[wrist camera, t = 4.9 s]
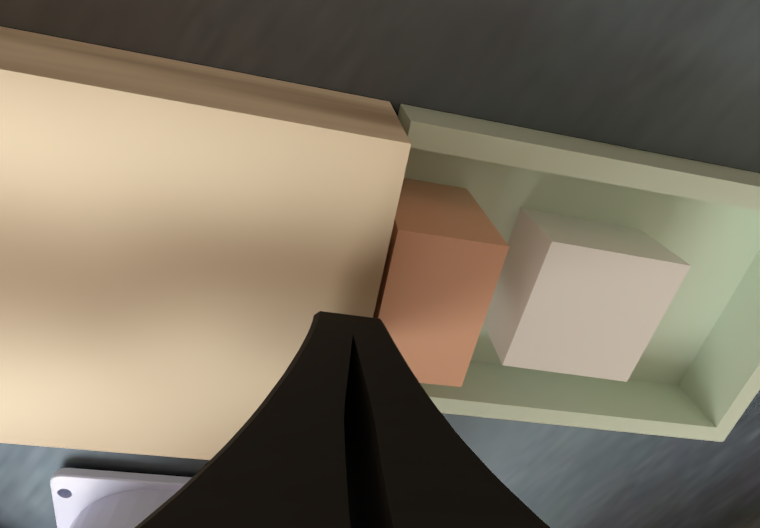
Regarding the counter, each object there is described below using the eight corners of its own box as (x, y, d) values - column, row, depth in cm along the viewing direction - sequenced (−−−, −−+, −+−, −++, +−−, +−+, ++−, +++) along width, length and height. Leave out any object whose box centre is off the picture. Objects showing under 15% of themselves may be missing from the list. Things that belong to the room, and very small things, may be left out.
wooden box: (341, 352, 17) (339, 470, 13) (-104, 299, 15) (-295, 418, 11) (389, 101, 13) (411, 144, 9) (-196, -12, 11) (-549, -32, 7)
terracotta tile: (359, 294, 15) (434, 303, 16) (364, 377, 12) (461, 386, 12) (383, 174, 14) (466, 188, 14) (398, 229, 10) (509, 246, 11)
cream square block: (502, 365, 14) (480, 317, 16) (627, 381, 15) (590, 333, 17) (551, 241, 12) (520, 206, 14) (691, 265, 13) (640, 229, 15)
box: (678, 391, 19) (722, 441, 17) (349, 353, 17) (350, 403, 15) (805, 181, 15) (884, 210, 13) (400, 103, 13) (410, 120, 11)
